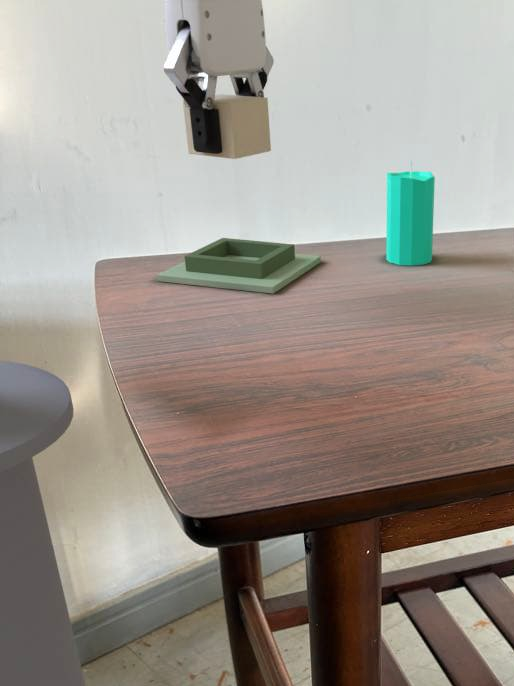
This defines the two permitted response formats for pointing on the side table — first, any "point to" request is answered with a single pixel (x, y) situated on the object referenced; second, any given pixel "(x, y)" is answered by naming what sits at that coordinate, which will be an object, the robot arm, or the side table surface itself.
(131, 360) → the side table surface
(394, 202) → the candle
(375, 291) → the side table surface
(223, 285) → the base pad
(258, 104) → the beige cube block
